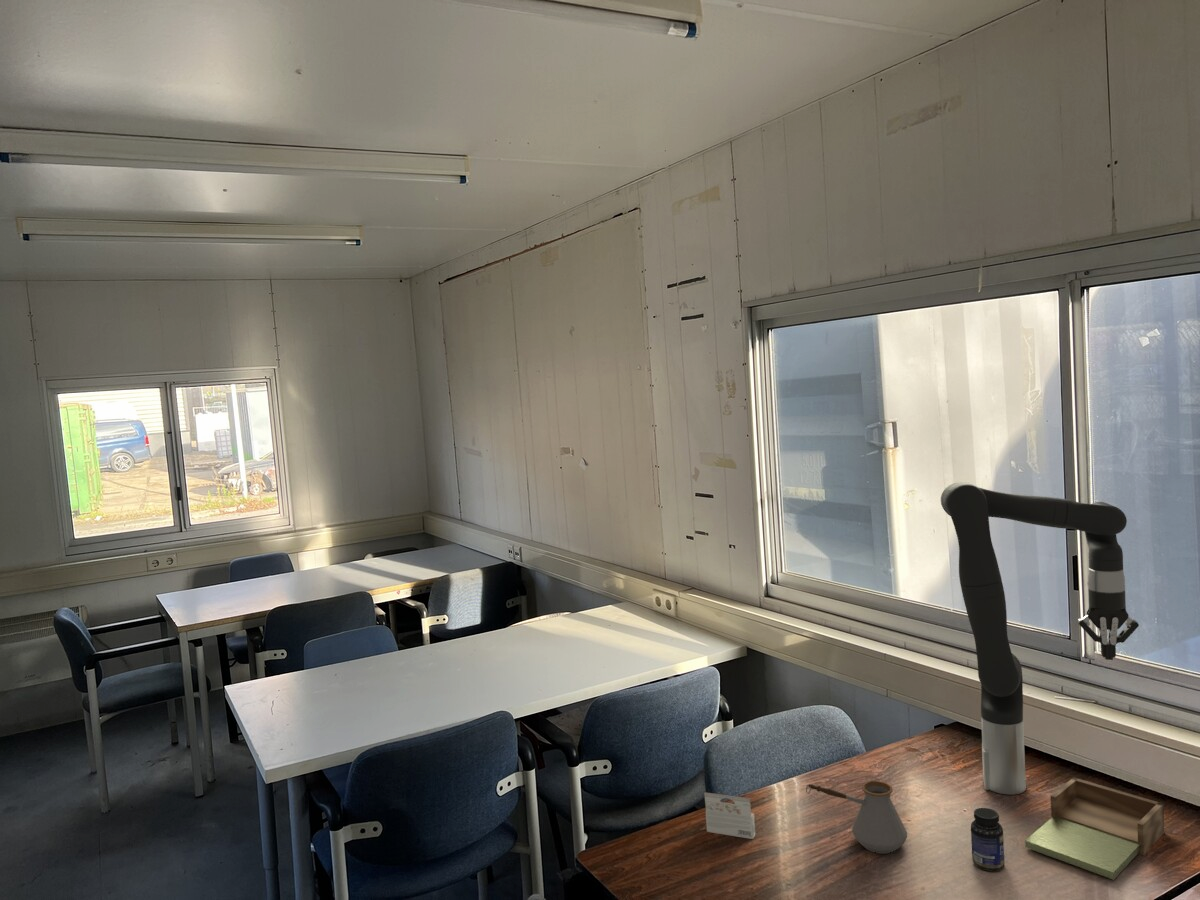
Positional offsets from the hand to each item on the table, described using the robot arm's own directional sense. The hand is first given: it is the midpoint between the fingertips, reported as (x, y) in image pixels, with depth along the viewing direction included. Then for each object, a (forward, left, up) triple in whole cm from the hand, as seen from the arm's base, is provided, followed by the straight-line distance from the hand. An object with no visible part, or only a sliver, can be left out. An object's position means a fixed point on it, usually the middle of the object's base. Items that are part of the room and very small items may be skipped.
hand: (1108, 658), depth 202 cm
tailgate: (-8, -27, -30) cm, 41 cm away
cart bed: (-5, -22, -31) cm, 38 cm away
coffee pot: (-56, -41, -31) cm, 76 cm away
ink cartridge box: (-84, -42, -31) cm, 99 cm away
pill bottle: (-30, -42, -31) cm, 60 cm away
